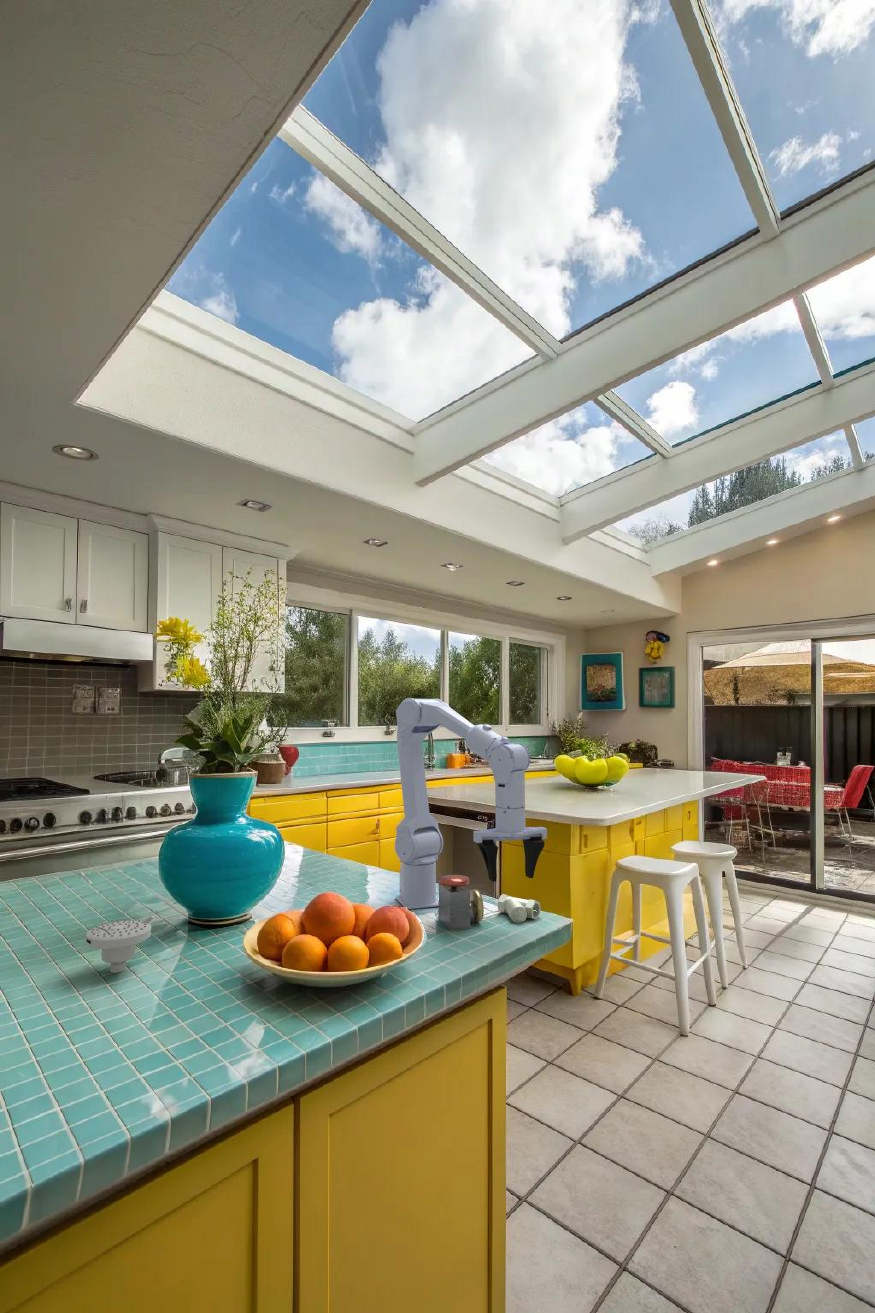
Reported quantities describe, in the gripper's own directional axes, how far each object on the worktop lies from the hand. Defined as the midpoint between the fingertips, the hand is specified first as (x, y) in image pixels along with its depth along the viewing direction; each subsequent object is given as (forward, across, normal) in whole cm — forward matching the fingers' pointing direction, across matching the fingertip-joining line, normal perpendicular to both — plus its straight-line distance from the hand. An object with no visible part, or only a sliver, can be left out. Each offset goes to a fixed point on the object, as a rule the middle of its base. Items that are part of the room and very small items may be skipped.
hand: (511, 878), depth 126 cm
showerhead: (+9, -68, 0) cm, 69 cm away
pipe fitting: (+10, +3, +6) cm, 12 cm away
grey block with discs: (+9, -8, +6) cm, 14 cm away
